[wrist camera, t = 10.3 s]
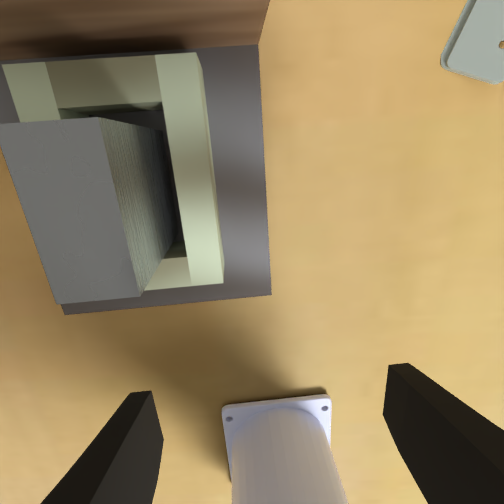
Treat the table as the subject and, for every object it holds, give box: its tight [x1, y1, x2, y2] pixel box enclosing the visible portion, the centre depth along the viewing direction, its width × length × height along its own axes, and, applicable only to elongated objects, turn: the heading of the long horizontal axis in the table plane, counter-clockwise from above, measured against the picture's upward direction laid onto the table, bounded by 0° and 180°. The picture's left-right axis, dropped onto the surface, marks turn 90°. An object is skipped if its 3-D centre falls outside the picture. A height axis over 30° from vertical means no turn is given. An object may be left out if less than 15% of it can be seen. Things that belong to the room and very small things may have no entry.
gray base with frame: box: [0, 0, 272, 315], centre depth 13 cm, size 14×12×6 cm
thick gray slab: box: [0, 117, 179, 304], centre depth 11 cm, size 5×2×7 cm, turn 4°
